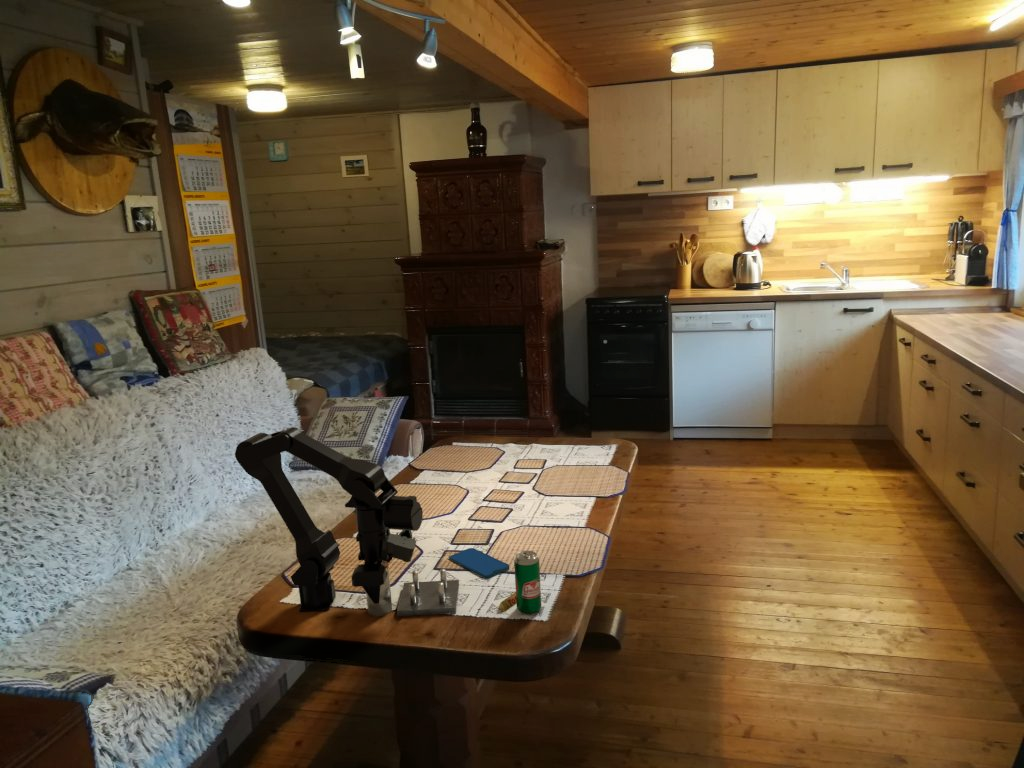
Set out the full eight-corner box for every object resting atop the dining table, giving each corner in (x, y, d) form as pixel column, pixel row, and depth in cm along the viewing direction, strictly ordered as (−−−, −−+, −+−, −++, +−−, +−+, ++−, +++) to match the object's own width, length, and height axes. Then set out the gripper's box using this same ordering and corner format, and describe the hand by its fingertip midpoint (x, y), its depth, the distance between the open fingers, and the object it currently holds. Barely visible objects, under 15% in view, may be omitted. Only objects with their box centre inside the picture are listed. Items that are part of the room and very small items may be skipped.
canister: (365, 617, 156) (360, 572, 154) (369, 604, 161) (365, 560, 159) (390, 615, 156) (386, 571, 154) (394, 602, 161) (390, 559, 159)
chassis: (397, 616, 156) (395, 593, 155) (404, 587, 167) (402, 566, 166) (455, 613, 156) (454, 589, 155) (459, 584, 168) (457, 563, 166)
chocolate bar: (540, 589, 165) (539, 579, 164) (506, 613, 155) (506, 603, 155) (530, 586, 166) (530, 576, 166) (496, 610, 157) (496, 600, 156)
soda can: (524, 618, 153) (521, 563, 150) (512, 607, 157) (509, 553, 154) (546, 611, 155) (543, 556, 152) (533, 600, 159) (531, 547, 156)
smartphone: (471, 547, 185) (511, 565, 174) (471, 550, 185) (511, 569, 174) (446, 557, 181) (485, 576, 169) (447, 560, 181) (486, 580, 169)
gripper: (405, 544, 145) (412, 618, 149) (416, 506, 164) (422, 573, 167) (347, 547, 145) (355, 621, 149) (364, 509, 164) (371, 576, 167)
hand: (378, 596), depth 158 cm, fingers closed on canister, 5 cm apart
